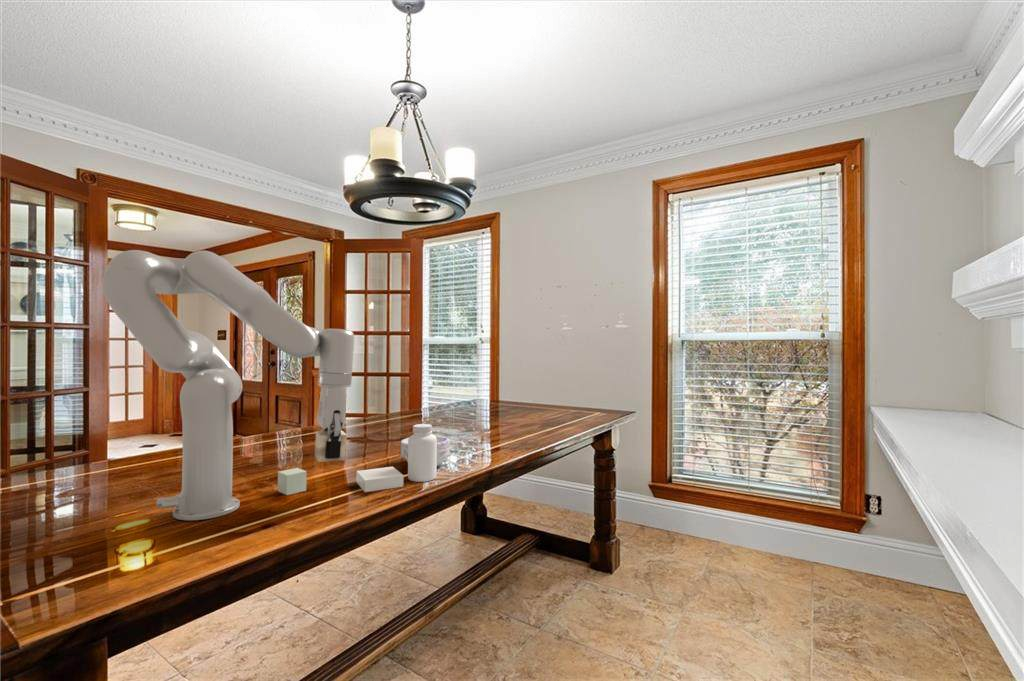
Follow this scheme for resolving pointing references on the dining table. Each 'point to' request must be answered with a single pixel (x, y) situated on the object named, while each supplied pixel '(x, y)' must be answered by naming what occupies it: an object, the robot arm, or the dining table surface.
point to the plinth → (379, 479)
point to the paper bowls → (442, 448)
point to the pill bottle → (422, 454)
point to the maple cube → (321, 446)
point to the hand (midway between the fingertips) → (330, 454)
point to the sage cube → (292, 481)
